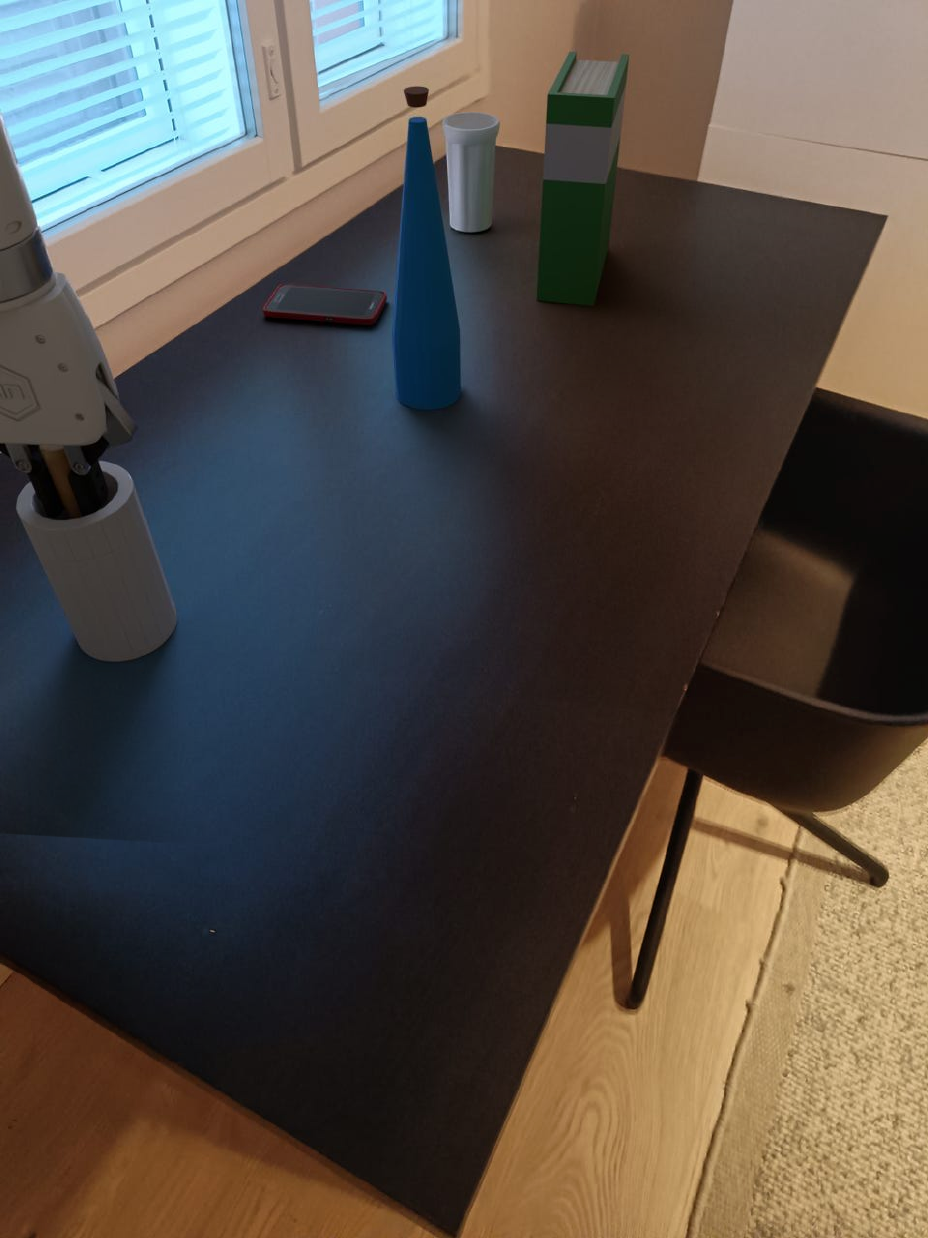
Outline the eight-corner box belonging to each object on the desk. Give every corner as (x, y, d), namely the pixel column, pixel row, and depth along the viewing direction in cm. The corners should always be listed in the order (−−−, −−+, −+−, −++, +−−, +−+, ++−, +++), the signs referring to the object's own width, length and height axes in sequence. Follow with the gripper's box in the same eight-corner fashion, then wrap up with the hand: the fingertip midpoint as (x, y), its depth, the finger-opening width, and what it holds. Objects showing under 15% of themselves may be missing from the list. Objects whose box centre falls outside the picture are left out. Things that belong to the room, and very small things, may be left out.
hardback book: (556, 244, 128) (569, 51, 111) (608, 248, 127) (629, 54, 110) (536, 300, 116) (547, 93, 99) (593, 305, 115) (614, 97, 98)
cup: (487, 240, 129) (488, 133, 119) (435, 232, 131) (432, 126, 121) (505, 219, 135) (508, 114, 124) (455, 212, 137) (453, 108, 126)
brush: (88, 619, 73) (18, 457, 61) (104, 589, 75) (39, 427, 64) (132, 622, 73) (69, 459, 61) (145, 591, 75) (88, 429, 64)
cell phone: (280, 290, 118) (279, 282, 118) (388, 298, 117) (388, 291, 116) (261, 317, 113) (260, 310, 112) (374, 327, 111) (373, 319, 111)
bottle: (384, 387, 102) (360, 87, 80) (438, 368, 105) (430, 73, 83) (418, 417, 98) (403, 109, 76) (473, 396, 100) (474, 93, 78)
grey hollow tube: (62, 659, 73) (-4, 527, 63) (97, 590, 79) (42, 458, 69) (160, 664, 73) (110, 531, 63) (188, 594, 78) (147, 462, 68)
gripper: (-182, 288, 51) (-49, 534, 64) (90, 296, 50) (168, 544, 64) (-114, 233, 56) (-4, 472, 70) (133, 240, 56) (197, 480, 69)
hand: (78, 505), depth 66 cm, fingers closed on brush, 2 cm apart
